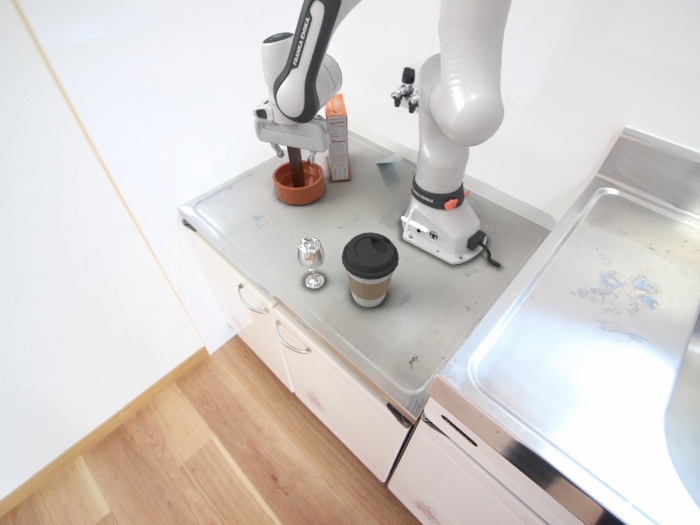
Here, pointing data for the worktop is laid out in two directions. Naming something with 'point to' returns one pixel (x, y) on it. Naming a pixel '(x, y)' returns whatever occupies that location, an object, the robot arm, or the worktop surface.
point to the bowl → (302, 194)
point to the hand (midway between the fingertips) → (295, 159)
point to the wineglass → (311, 260)
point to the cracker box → (337, 138)
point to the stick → (296, 166)
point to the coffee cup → (369, 267)
